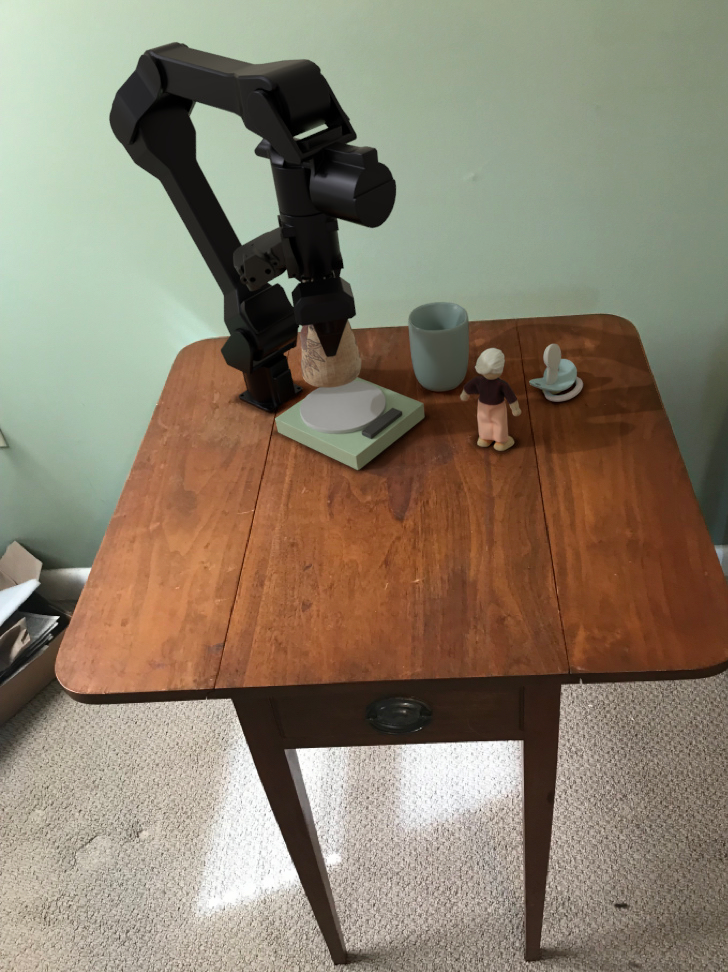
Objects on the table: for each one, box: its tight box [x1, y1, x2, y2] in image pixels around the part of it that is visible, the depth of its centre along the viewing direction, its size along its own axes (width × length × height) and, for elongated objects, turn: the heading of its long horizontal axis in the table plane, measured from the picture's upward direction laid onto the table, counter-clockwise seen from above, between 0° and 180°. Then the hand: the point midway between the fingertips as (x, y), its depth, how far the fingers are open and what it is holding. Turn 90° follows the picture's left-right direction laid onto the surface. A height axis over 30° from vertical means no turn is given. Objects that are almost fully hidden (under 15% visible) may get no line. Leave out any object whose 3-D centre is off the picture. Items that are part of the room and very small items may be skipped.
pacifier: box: [528, 343, 584, 403], centre depth 99 cm, size 7×6×6 cm
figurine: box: [299, 277, 362, 388], centre depth 89 cm, size 7×7×12 cm
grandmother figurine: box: [459, 347, 522, 452], centre depth 90 cm, size 8×4×13 cm, turn 71°
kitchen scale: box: [274, 376, 425, 471], centre depth 98 cm, size 14×13×3 cm
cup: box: [407, 301, 470, 393], centre depth 101 cm, size 8×8×10 cm
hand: (327, 341), depth 90 cm, fingers closed on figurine, 6 cm apart
